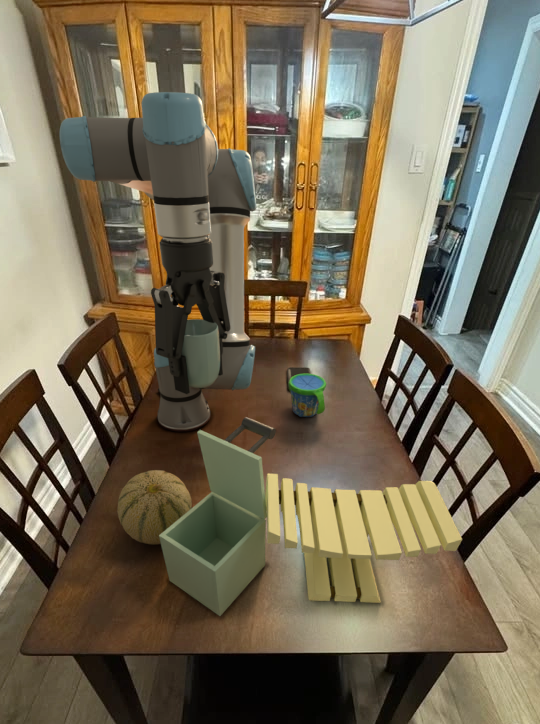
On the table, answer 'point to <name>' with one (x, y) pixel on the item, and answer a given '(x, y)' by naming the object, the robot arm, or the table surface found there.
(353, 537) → the slatted curved stool
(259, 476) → the pale green box lid
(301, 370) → the phone
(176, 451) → the table surface
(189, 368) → the cup
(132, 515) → the cantaloupe
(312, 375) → the snack cup
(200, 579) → the green box
